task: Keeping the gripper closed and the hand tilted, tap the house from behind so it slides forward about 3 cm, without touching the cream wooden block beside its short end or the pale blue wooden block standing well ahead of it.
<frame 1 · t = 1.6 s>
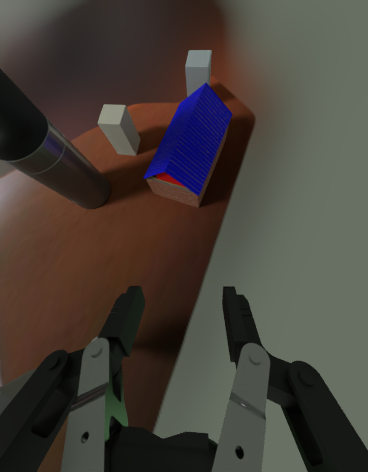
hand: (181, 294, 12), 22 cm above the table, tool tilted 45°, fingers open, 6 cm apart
chalice: (100, 349, 33), on the table
house: (190, 167, 41), on the table
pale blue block: (198, 100, 45), on the table
cream block: (129, 146, 43), on the table
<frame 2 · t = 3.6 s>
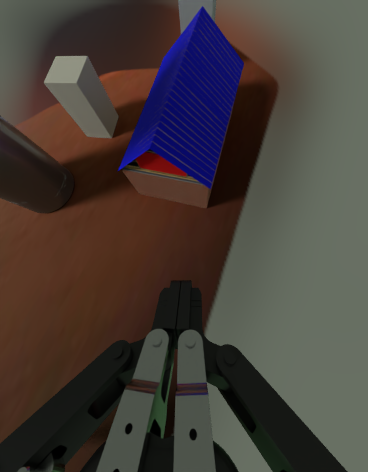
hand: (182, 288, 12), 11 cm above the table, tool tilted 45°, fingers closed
house: (188, 152, 29), on the table
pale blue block: (198, 64, 33), on the table
cream block: (103, 126, 31), on the table
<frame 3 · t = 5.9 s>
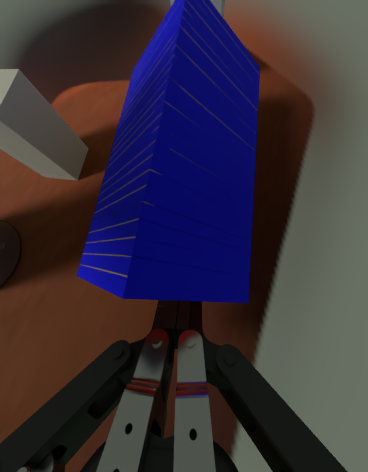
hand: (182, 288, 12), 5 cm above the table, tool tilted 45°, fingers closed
house: (185, 198, 20), on the table, touching gripper
cream block: (66, 162, 23), on the table
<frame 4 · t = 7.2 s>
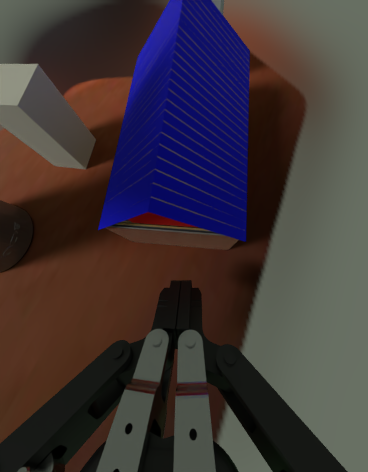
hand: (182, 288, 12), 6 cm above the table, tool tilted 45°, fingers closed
house: (187, 175, 22), on the table
cream block: (75, 152, 24), on the table
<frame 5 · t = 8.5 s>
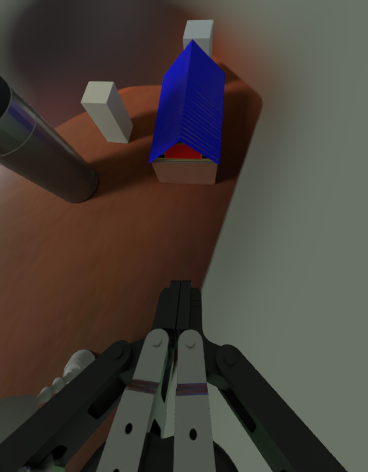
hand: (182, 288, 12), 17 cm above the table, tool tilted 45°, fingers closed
chalice: (83, 365, 28), on the table
house: (191, 145, 36), on the table
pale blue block: (198, 83, 40), on the table
cream block: (120, 133, 39), on the table
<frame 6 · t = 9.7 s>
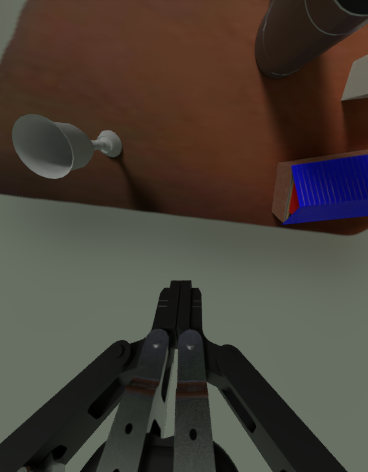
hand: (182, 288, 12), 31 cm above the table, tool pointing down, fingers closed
chalice: (110, 144, 35), on the table
house: (318, 182, 37), on the table
cream block: (362, 80, 28), on the table
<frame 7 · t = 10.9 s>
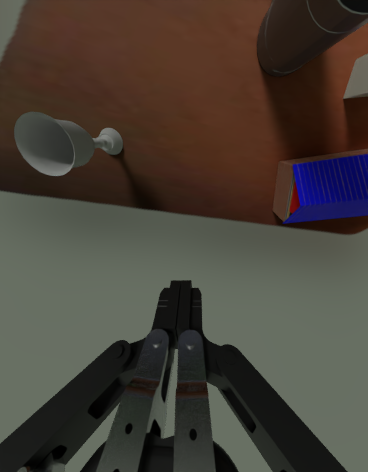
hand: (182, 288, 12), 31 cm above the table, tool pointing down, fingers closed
chalice: (111, 141, 36), on the table
house: (320, 181, 37), on the table
cream block: (365, 78, 28), on the table
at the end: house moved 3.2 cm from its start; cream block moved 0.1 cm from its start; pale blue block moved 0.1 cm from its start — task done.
